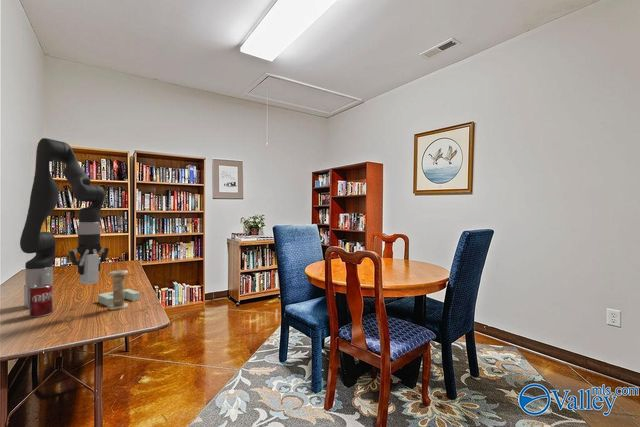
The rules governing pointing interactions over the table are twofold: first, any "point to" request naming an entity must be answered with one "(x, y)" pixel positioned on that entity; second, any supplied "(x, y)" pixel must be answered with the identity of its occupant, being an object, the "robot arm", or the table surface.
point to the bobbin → (118, 290)
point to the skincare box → (90, 269)
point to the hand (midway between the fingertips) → (89, 273)
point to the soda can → (40, 300)
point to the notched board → (108, 297)
